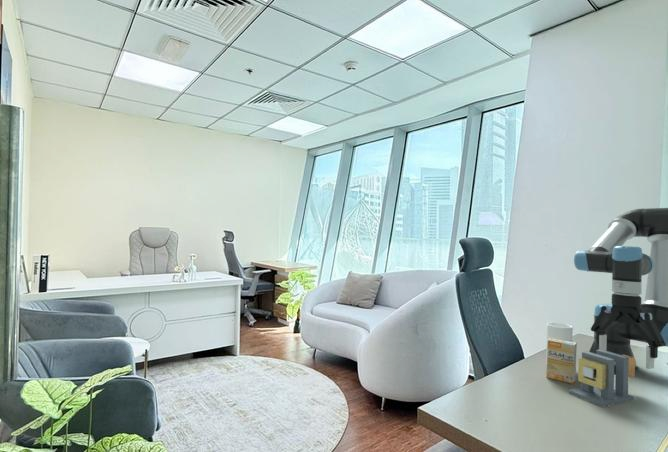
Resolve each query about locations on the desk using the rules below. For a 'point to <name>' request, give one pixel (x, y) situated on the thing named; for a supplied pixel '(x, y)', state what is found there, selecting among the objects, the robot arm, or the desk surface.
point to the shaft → (631, 369)
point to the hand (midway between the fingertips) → (625, 361)
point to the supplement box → (561, 360)
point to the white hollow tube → (558, 333)
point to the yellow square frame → (600, 373)
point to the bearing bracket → (607, 380)
